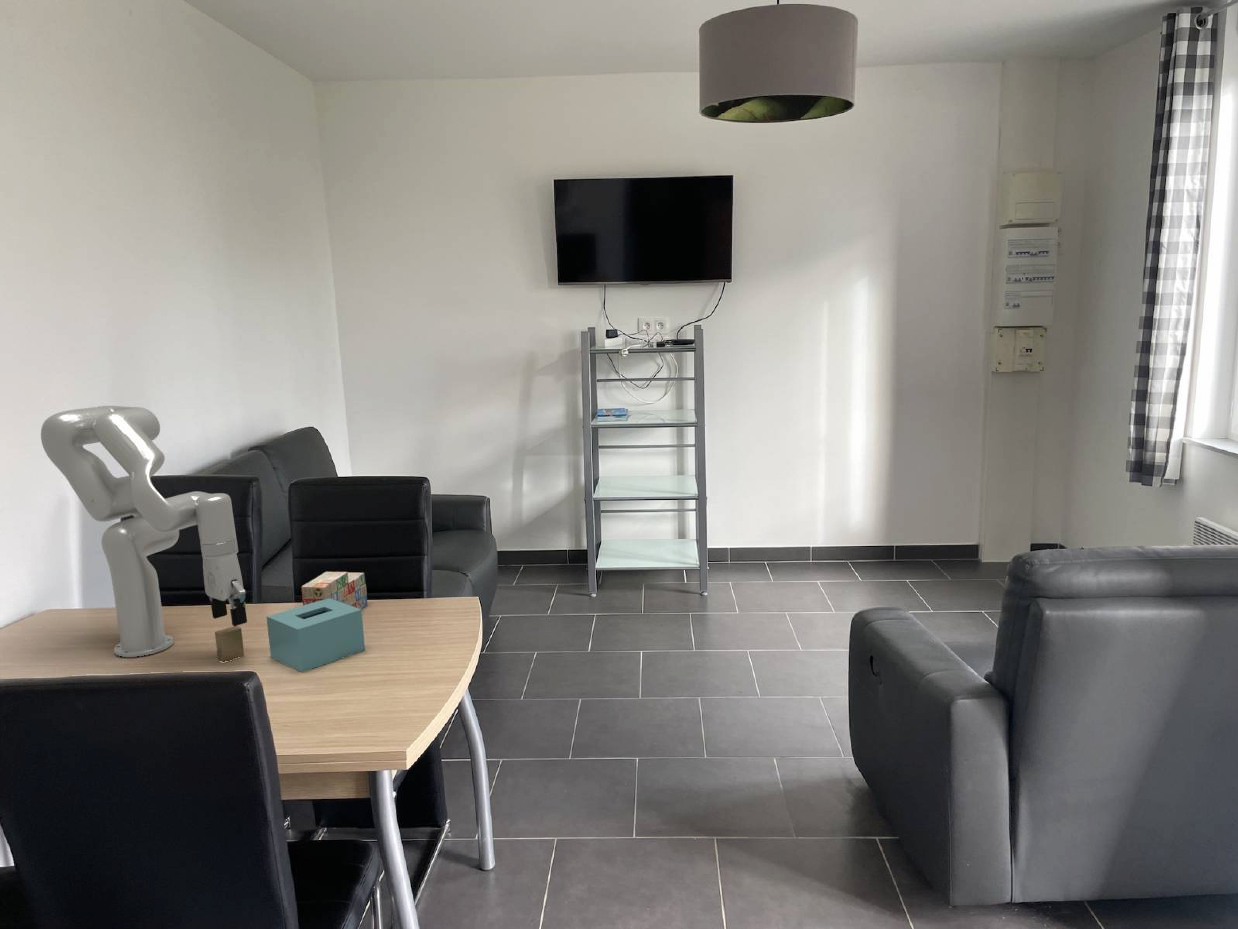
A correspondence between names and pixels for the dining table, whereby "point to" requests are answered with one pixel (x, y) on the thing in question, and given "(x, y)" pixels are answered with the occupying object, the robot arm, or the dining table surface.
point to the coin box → (315, 634)
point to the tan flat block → (229, 643)
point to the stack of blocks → (337, 589)
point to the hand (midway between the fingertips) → (229, 620)
